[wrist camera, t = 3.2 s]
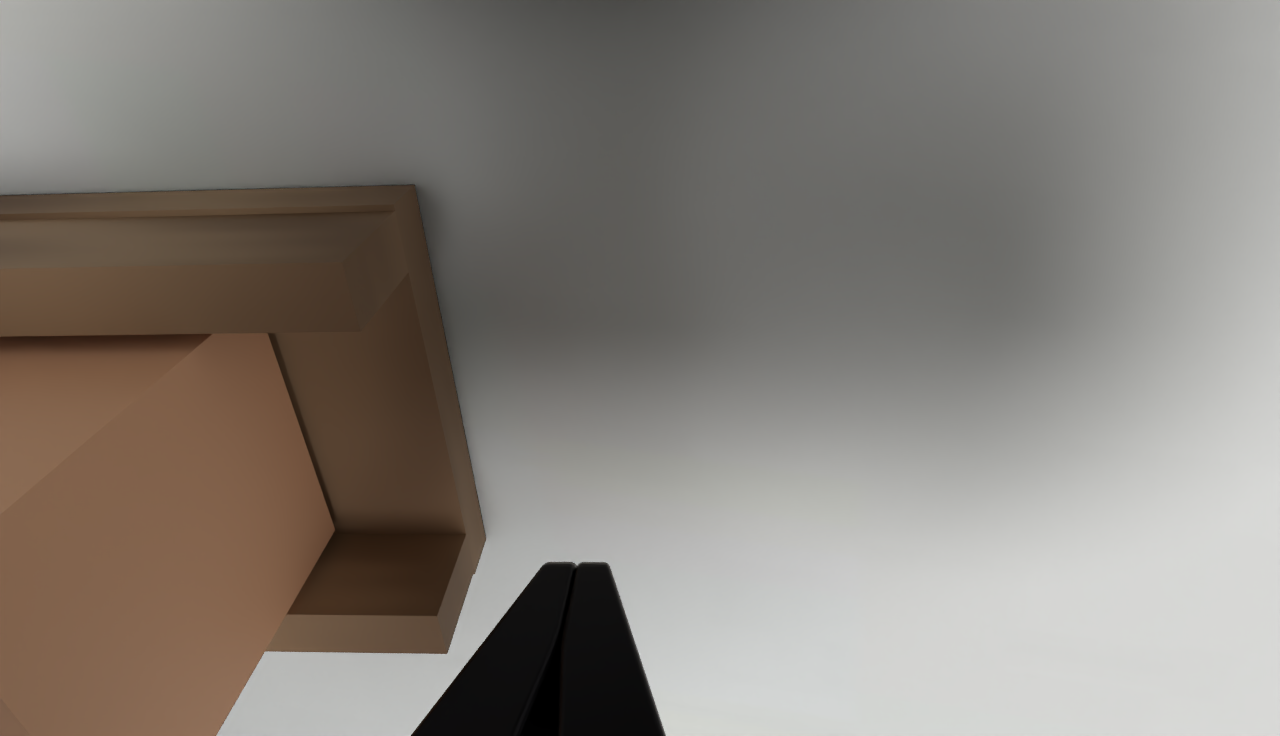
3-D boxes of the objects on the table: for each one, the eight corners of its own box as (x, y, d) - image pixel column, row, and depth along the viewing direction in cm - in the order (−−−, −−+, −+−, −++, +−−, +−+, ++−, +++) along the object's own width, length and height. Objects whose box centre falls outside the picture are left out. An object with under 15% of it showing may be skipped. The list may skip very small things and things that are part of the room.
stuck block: (91, 529, 14) (-237, 859, 9) (-40, 302, 12) (-593, 583, 7) (335, 530, 14) (136, 871, 9) (255, 297, 12) (-86, 588, 6)
